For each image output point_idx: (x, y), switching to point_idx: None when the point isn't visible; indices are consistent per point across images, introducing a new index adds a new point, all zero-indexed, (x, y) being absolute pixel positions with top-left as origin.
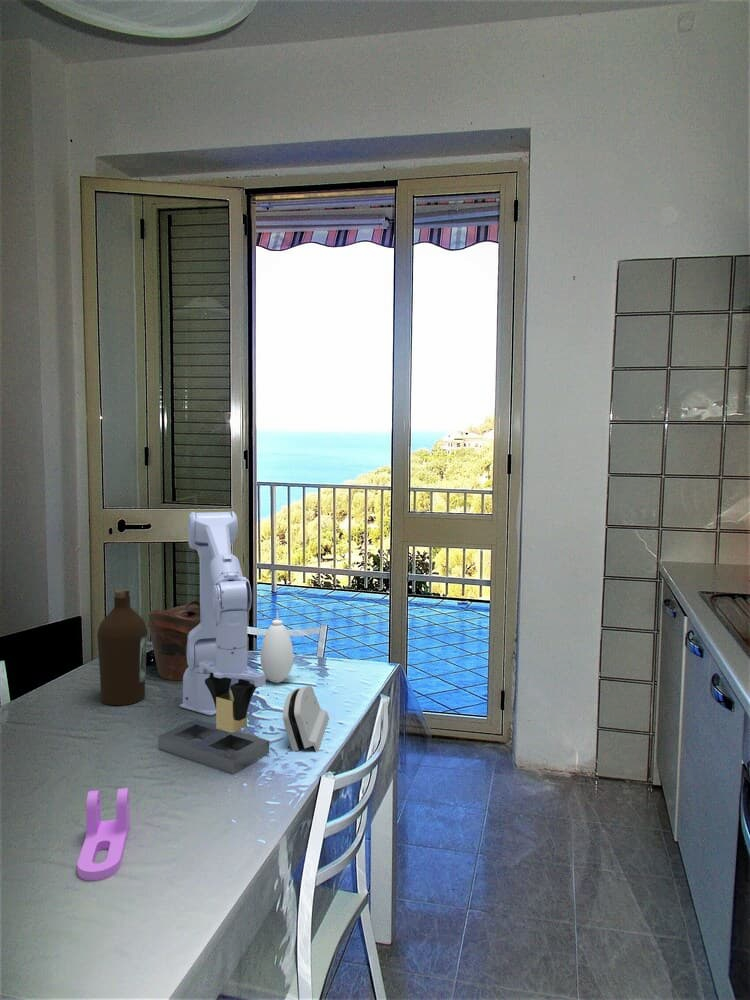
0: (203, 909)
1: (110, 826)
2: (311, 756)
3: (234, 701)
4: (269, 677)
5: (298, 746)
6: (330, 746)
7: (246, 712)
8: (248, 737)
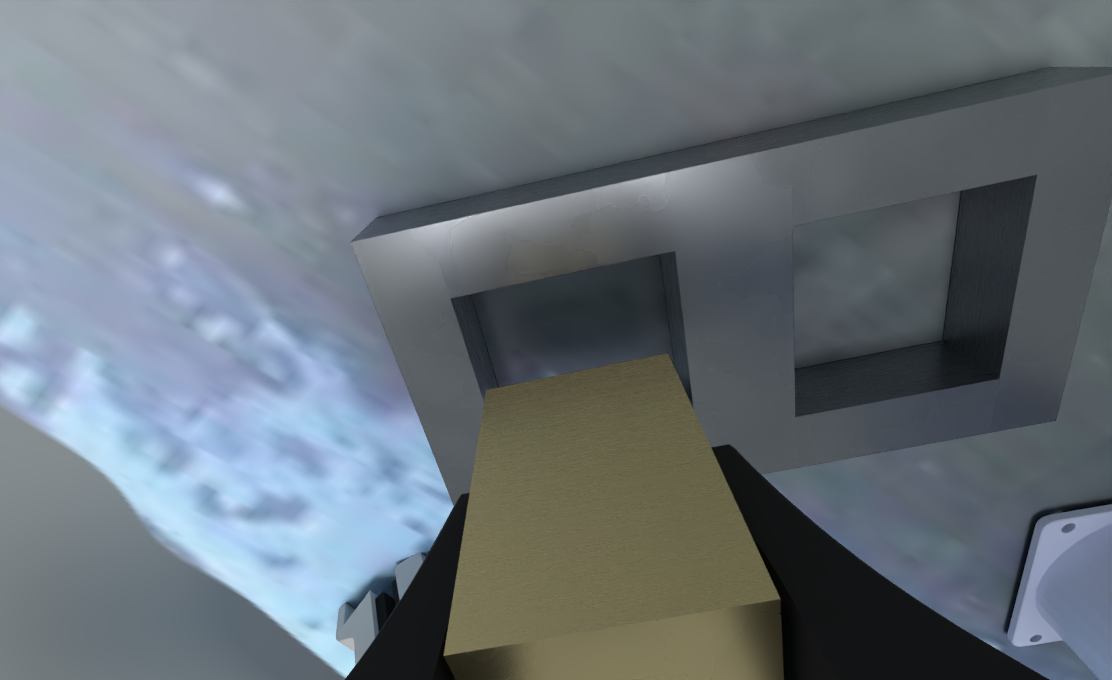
0: None
1: None
2: (316, 571)
3: (431, 664)
4: None
5: (396, 585)
6: (353, 657)
7: None
8: None
